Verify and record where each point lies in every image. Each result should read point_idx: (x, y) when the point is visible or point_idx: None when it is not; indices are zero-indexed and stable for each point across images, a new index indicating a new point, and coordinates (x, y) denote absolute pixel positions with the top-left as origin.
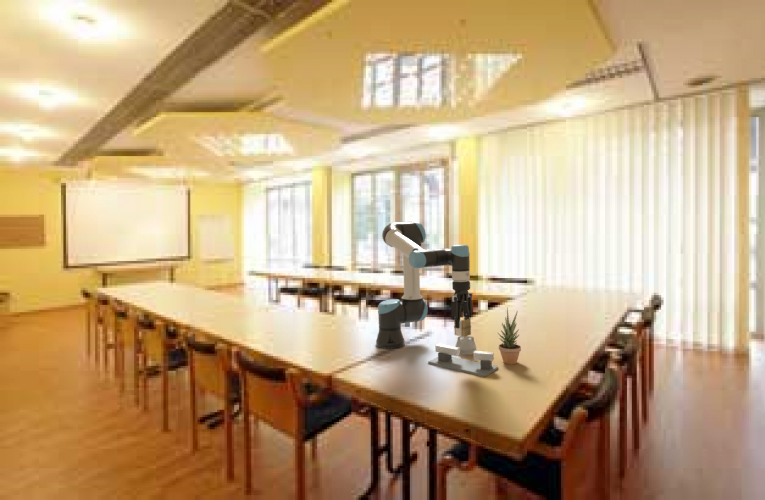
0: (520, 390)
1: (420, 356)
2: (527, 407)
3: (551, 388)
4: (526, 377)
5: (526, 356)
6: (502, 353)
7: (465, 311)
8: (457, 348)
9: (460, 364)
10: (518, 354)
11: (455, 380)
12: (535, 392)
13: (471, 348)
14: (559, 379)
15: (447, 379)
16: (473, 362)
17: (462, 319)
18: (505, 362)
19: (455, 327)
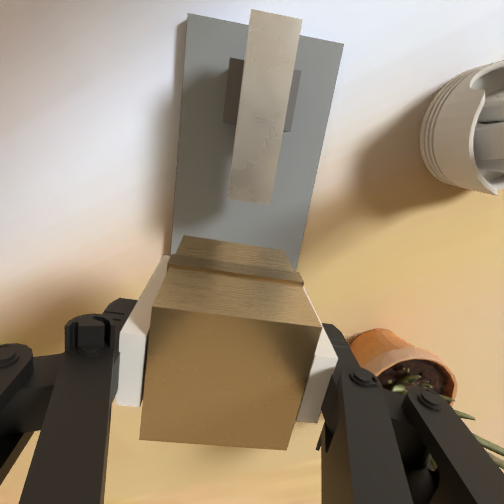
0: (121, 446)
1: None
2: (20, 486)
3: (187, 495)
4: None
5: (461, 377)
6: (362, 362)
7: (332, 478)
8: (249, 199)
9: (230, 205)
10: None
11: (63, 252)
12: (133, 476)
13: (453, 180)
14: (267, 495)
15: (50, 219)
16: (285, 247)
17: (182, 405)
18: (351, 346)
19: (115, 302)
